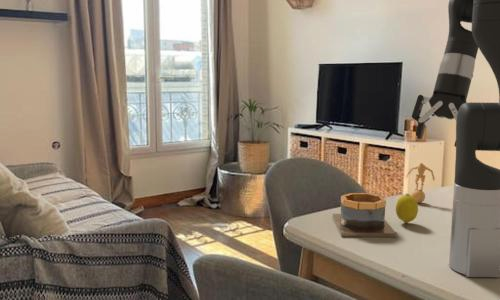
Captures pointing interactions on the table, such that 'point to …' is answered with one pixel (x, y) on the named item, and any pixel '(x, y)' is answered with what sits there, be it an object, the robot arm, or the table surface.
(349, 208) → the pot on wooden stand
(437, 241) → the table surface
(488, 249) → the robot arm
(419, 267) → the table surface
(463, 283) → the table surface
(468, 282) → the table surface
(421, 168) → the figurine
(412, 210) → the lemon
